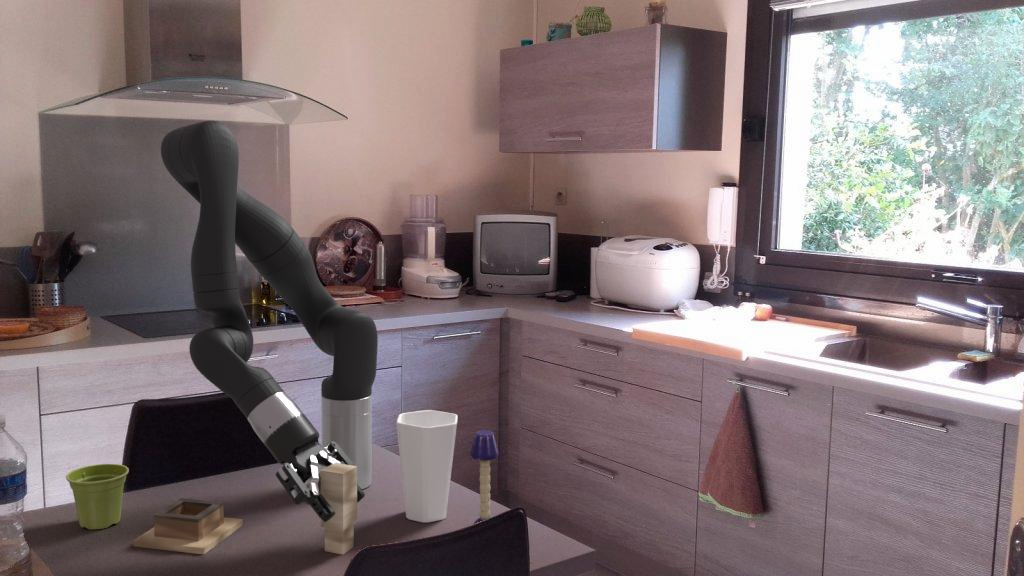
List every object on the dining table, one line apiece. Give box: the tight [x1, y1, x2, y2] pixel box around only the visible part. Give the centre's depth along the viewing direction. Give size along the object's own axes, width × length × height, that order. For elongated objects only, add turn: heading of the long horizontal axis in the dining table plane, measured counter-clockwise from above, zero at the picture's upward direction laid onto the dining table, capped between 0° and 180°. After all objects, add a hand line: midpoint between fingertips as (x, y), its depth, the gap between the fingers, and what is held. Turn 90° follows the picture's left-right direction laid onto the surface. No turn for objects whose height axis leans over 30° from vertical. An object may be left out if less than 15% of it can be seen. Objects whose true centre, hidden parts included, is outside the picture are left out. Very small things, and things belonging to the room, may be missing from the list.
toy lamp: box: [469, 429, 499, 524], centre depth 148 cm, size 5×5×17 cm
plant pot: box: [65, 463, 130, 530], centre depth 148 cm, size 9×9×9 cm
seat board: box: [132, 497, 244, 555], centre depth 144 cm, size 12×12×4 cm
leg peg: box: [320, 463, 358, 555], centre depth 140 cm, size 4×4×13 cm
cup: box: [395, 409, 458, 523], centre depth 154 cm, size 11×10×17 cm
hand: (346, 508), depth 139 cm, fingers open, 8 cm apart
